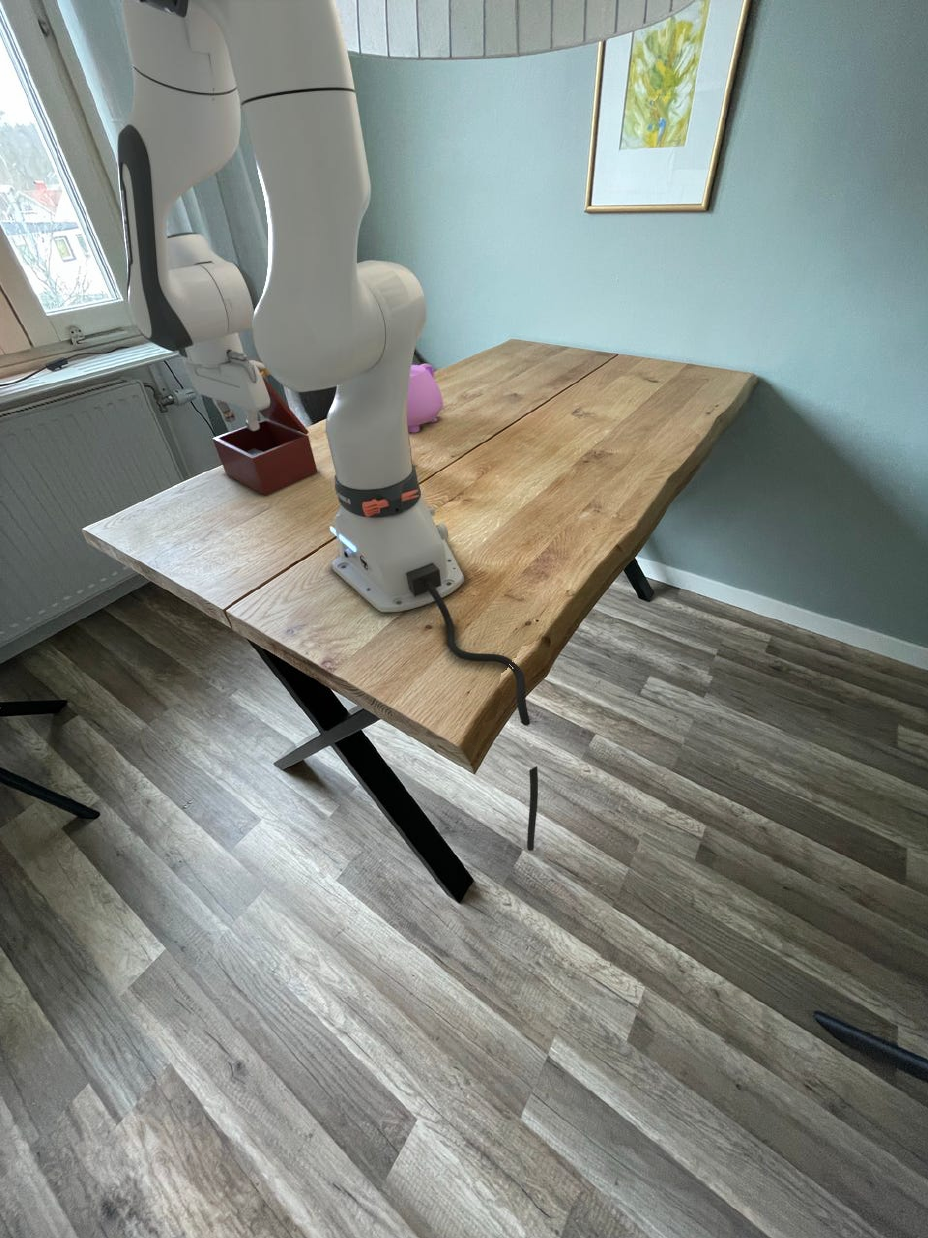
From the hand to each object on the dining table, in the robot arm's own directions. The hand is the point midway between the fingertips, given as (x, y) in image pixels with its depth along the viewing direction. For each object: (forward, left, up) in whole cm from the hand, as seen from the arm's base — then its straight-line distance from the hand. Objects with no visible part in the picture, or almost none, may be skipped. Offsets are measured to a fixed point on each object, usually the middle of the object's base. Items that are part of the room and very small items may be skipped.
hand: (241, 424), depth 101 cm
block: (0, 0, -10) cm, 10 cm away
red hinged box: (+1, -3, -11) cm, 12 cm away
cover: (+2, -5, +3) cm, 6 cm away
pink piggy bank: (+8, -38, -11) cm, 40 cm away
